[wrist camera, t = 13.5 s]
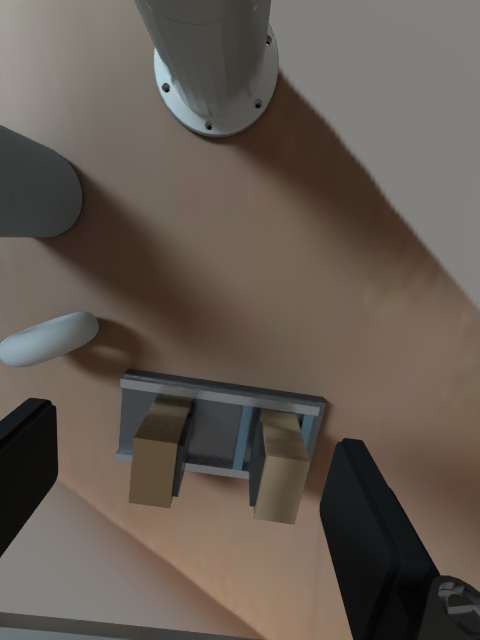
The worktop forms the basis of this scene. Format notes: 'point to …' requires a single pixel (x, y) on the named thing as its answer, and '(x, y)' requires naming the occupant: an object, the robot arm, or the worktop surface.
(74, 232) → the worktop surface
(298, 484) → the tan wooden block
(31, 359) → the donut
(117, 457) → the rail
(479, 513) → the worktop surface
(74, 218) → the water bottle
